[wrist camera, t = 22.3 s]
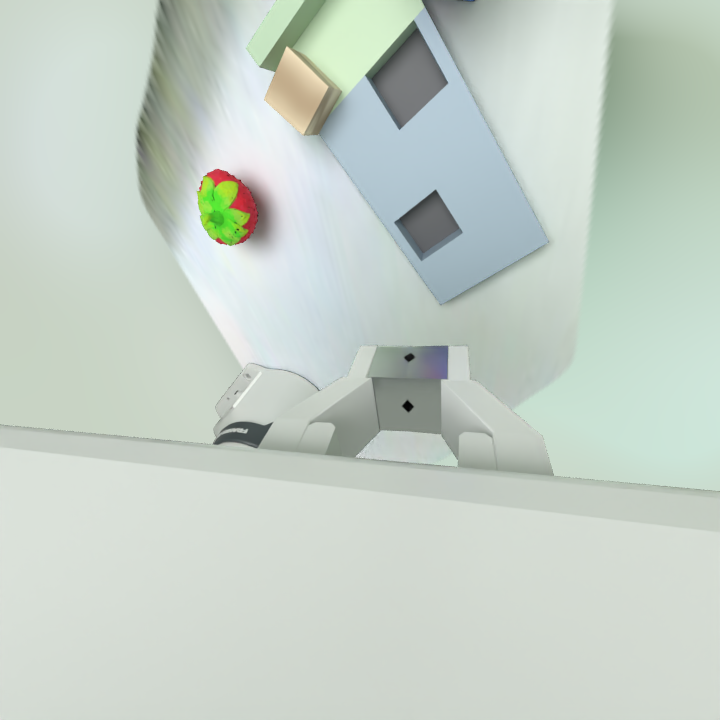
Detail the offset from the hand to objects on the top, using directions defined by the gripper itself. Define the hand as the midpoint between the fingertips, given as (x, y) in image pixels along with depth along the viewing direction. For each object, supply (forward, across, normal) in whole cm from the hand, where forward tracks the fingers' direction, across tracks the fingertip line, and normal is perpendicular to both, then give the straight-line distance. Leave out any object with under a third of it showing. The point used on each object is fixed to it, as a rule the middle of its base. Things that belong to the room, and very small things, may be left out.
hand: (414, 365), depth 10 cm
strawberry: (+31, +22, -2) cm, 38 cm away
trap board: (+31, +2, -4) cm, 31 cm away
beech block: (+28, +11, -10) cm, 32 cm away
